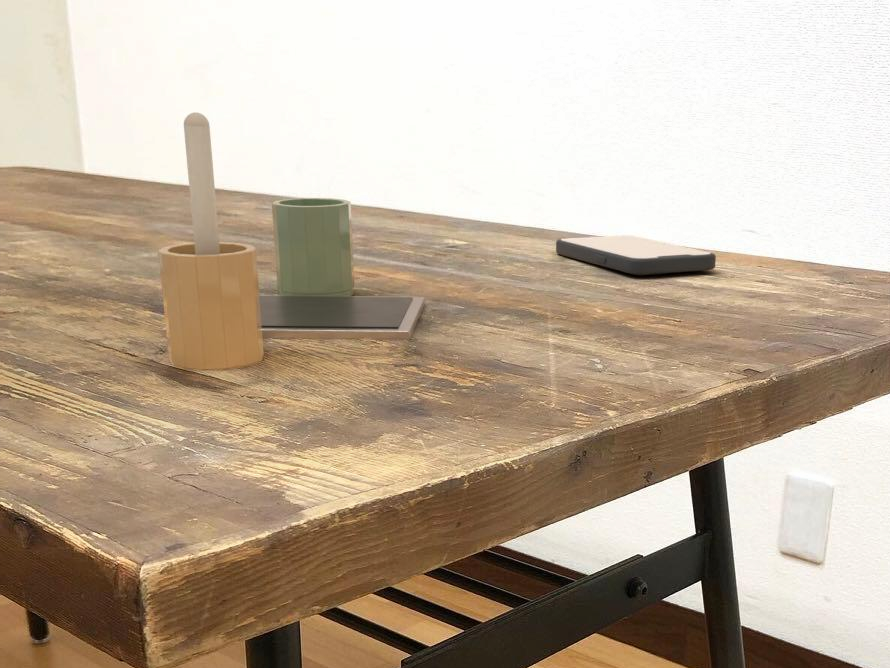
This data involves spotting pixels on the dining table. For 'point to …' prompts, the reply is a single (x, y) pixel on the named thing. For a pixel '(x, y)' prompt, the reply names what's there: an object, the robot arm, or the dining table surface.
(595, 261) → the phone case
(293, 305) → the tablet
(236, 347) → the pen stand
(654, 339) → the dining table surface
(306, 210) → the pen cup
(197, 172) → the stylus
